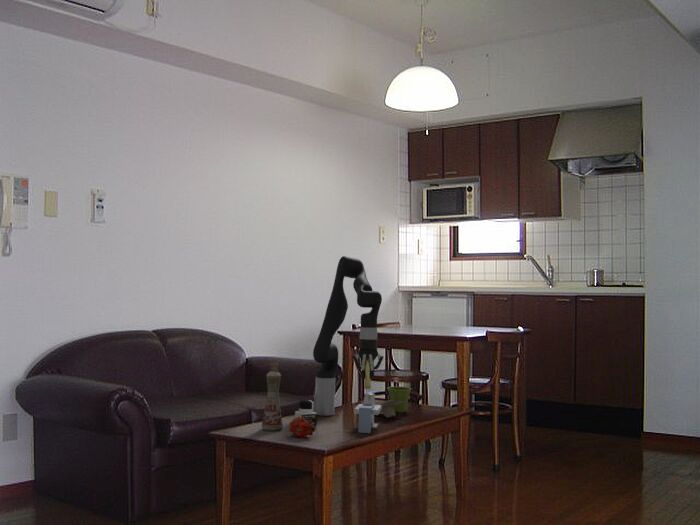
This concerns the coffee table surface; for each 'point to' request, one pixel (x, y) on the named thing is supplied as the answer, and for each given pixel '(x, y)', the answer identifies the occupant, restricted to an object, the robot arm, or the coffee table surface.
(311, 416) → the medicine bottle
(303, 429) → the dragon fruit
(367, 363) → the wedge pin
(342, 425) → the coffee table surface
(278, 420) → the bottle
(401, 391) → the plant pot
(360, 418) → the bracket
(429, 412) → the coffee table surface
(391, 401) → the white slotted block
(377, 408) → the grey piece
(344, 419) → the coffee table surface
